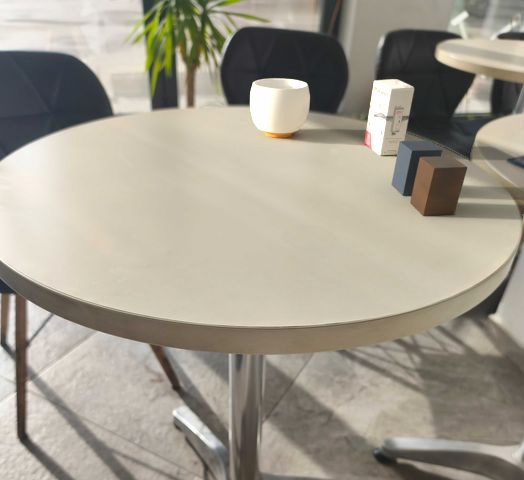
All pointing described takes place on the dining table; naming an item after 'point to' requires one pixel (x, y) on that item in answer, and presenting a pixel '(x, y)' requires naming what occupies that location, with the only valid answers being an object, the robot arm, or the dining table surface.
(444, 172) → the walnut block
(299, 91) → the cup
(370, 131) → the ink box
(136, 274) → the dining table surface
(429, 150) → the slate block
